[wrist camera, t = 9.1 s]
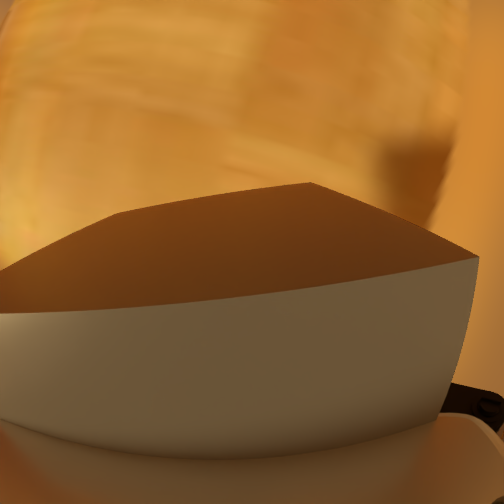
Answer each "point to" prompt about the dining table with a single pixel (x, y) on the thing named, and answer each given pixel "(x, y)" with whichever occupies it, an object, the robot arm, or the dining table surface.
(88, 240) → the grey rectangular box
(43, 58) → the dining table surface
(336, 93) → the dining table surface
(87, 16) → the dining table surface
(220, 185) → the dining table surface
